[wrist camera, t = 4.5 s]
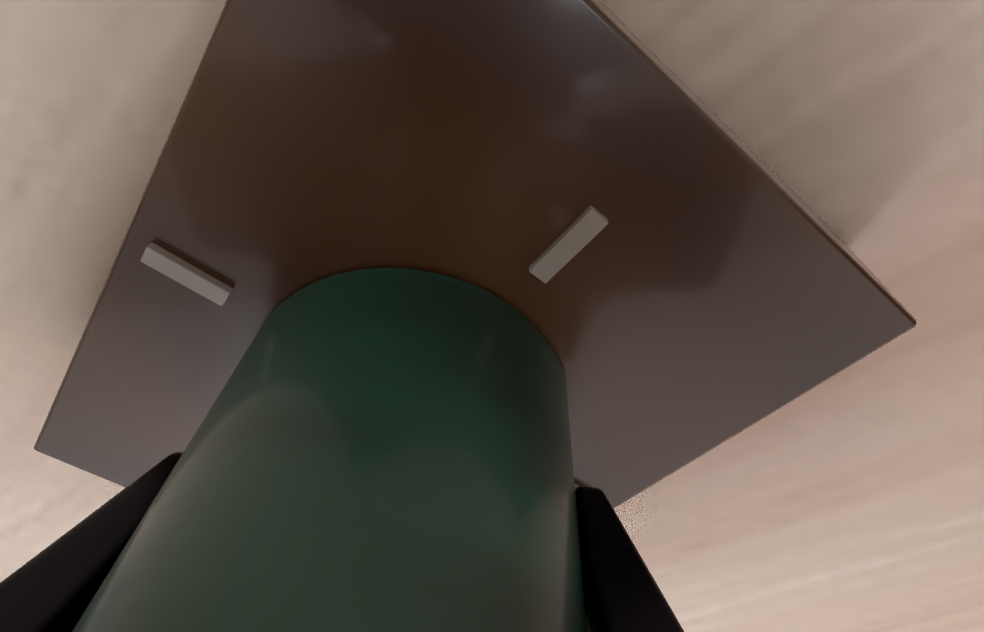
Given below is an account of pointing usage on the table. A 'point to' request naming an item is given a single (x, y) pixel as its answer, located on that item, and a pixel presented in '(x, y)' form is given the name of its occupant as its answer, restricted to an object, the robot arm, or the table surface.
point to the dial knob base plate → (470, 228)
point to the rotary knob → (368, 477)
